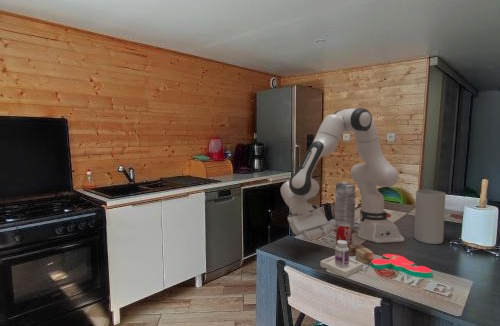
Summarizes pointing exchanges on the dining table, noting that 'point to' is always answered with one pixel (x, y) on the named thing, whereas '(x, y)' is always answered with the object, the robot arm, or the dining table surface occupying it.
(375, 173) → the robot arm
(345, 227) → the soda can
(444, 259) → the dining table surface
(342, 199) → the mottled grey cylinder
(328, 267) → the ceramic tray
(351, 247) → the walnut block
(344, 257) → the pill bottle
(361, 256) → the oak block
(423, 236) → the cylinder vase
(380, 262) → the pink script letter cutout
